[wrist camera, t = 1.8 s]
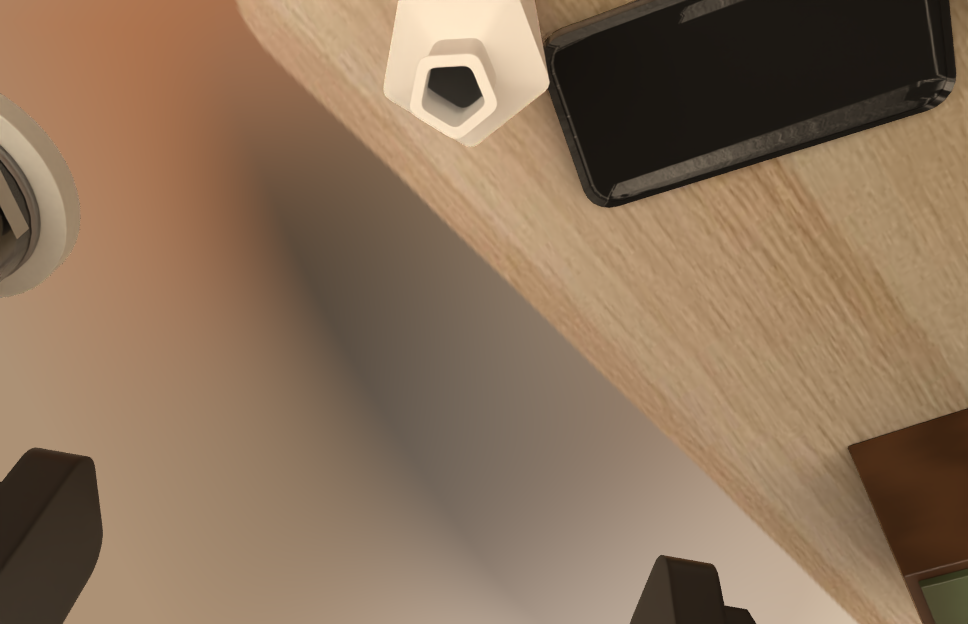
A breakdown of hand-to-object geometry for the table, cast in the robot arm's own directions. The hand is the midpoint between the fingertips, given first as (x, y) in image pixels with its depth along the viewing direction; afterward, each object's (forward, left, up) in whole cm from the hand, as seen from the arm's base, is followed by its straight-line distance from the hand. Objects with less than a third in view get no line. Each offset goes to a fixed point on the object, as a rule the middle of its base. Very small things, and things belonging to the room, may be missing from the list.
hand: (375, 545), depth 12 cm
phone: (+8, -5, -27) cm, 28 cm away
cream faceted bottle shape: (+1, +2, -27) cm, 27 cm away
